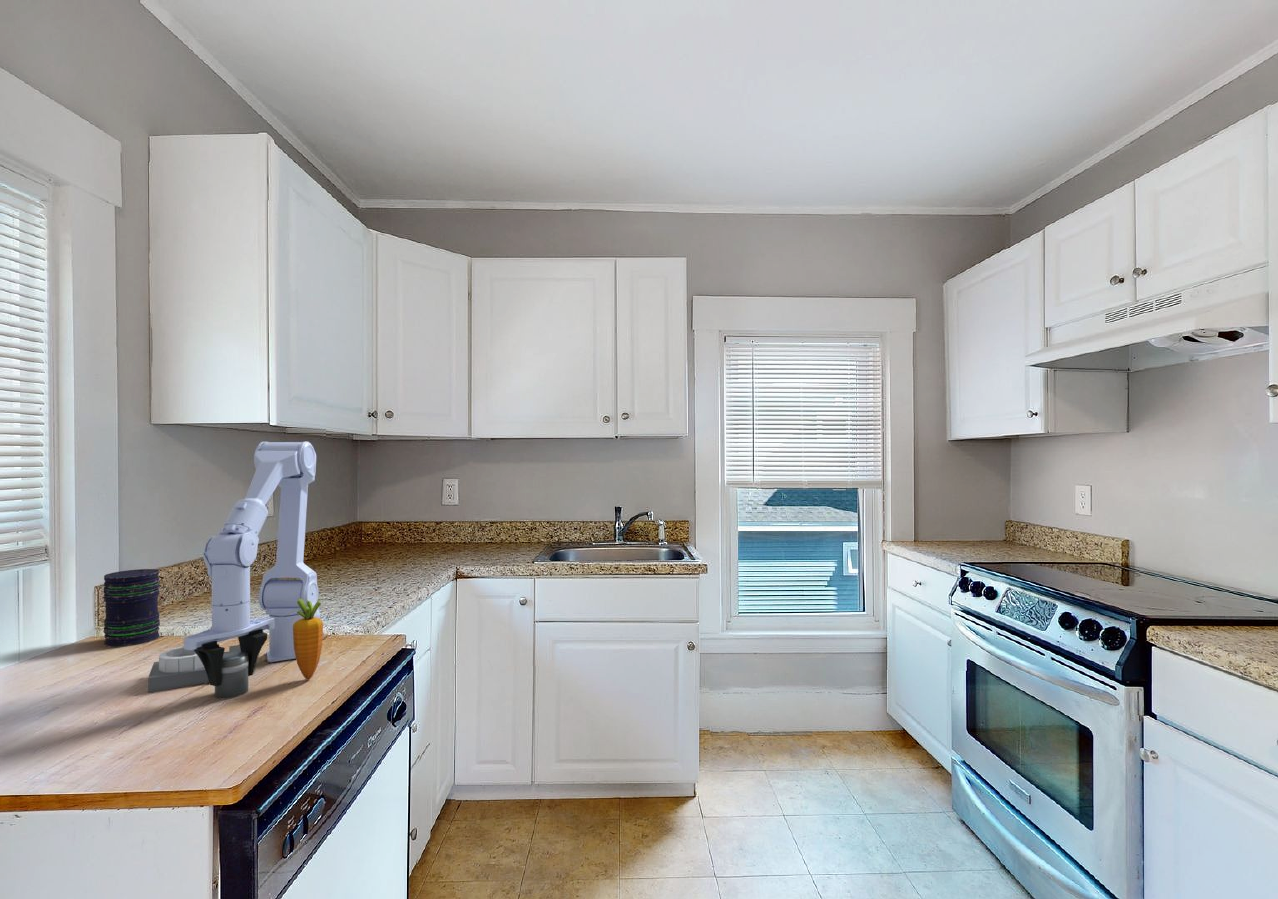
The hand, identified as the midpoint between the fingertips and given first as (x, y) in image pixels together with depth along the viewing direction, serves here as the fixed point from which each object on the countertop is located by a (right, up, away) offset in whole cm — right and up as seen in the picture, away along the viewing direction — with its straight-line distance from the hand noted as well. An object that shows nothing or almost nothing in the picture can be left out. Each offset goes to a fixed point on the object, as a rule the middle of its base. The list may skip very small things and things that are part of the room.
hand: (231, 679), depth 114 cm
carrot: (+10, -3, +6) cm, 12 cm away
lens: (0, -2, 0) cm, 2 cm away
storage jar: (-42, -2, +31) cm, 52 cm away
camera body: (-11, -2, +8) cm, 14 cm away
